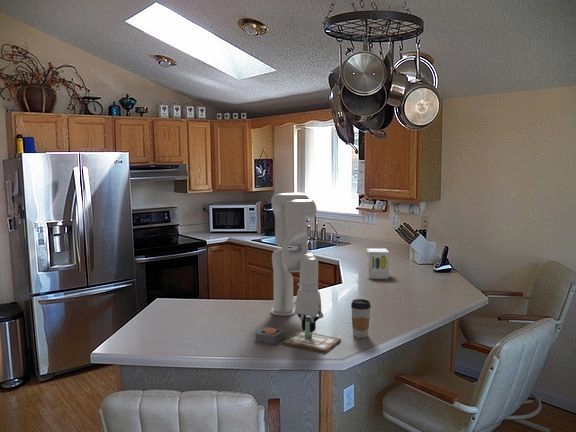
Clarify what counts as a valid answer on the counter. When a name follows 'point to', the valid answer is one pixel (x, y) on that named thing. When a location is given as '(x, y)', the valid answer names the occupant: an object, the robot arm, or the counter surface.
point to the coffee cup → (360, 317)
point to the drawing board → (312, 342)
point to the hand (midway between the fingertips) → (308, 330)
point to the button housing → (270, 336)
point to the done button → (270, 331)
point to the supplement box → (377, 263)
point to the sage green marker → (307, 327)
